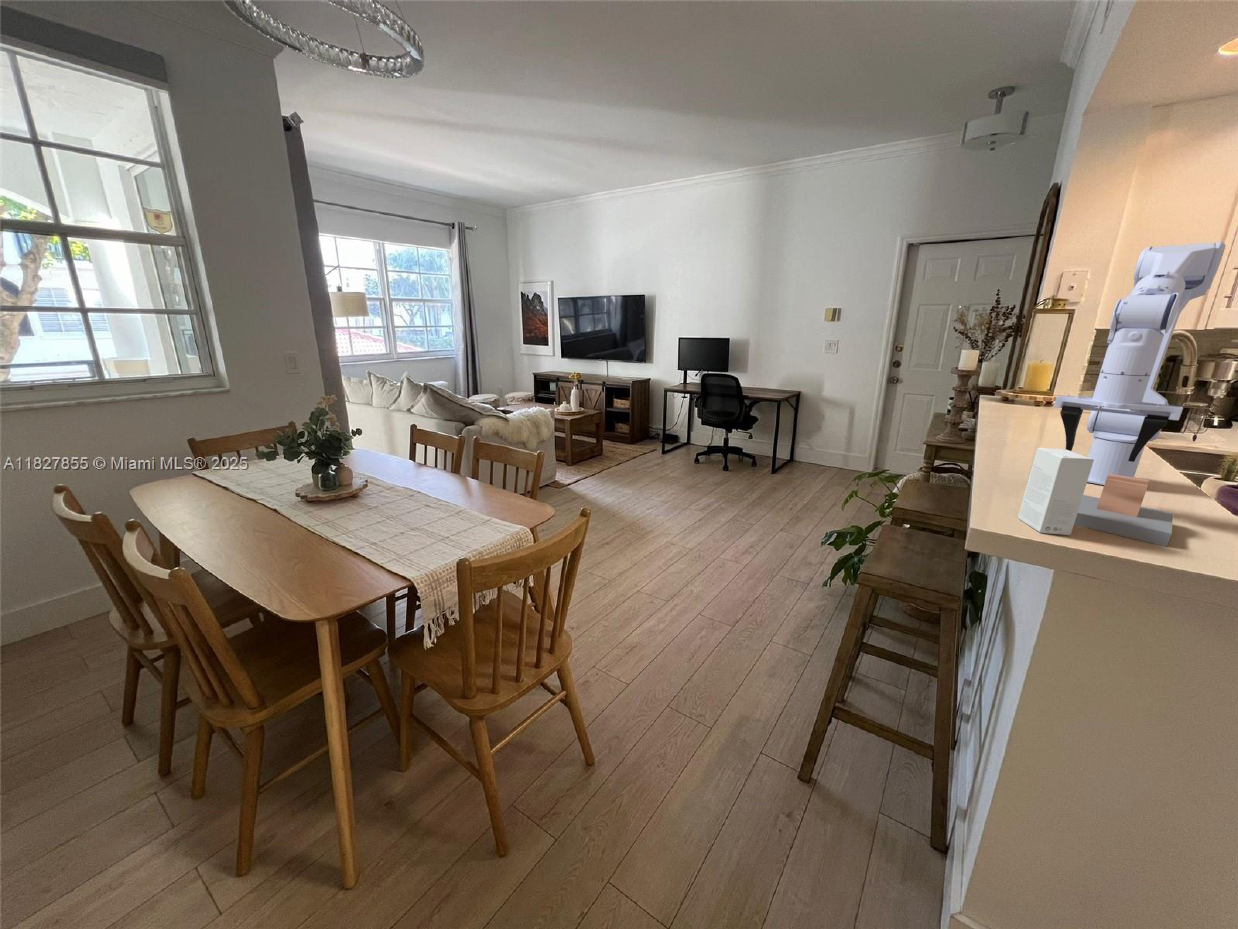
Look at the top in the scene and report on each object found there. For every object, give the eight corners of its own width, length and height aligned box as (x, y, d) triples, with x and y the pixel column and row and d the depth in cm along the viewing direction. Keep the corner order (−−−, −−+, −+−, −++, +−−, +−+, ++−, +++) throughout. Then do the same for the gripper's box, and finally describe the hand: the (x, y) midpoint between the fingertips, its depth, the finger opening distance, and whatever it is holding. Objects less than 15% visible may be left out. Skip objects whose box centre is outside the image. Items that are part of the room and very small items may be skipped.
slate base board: (1068, 503, 85) (1071, 492, 84) (1168, 524, 76) (1173, 512, 76) (1056, 520, 77) (1060, 508, 77) (1166, 546, 69) (1171, 533, 68)
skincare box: (1071, 536, 72) (1096, 459, 68) (1039, 533, 72) (1061, 457, 69) (1046, 520, 77) (1067, 448, 74) (1016, 518, 78) (1035, 446, 75)
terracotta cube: (1099, 502, 80) (1109, 473, 78) (1138, 510, 77) (1148, 480, 75) (1096, 508, 77) (1106, 479, 76) (1136, 517, 74) (1147, 486, 72)
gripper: (1061, 371, 79) (1039, 450, 83) (1194, 380, 69) (1161, 470, 73) (1067, 368, 84) (1046, 444, 88) (1193, 376, 73) (1162, 461, 77)
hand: (1098, 455), depth 81 cm, fingers open, 7 cm apart
